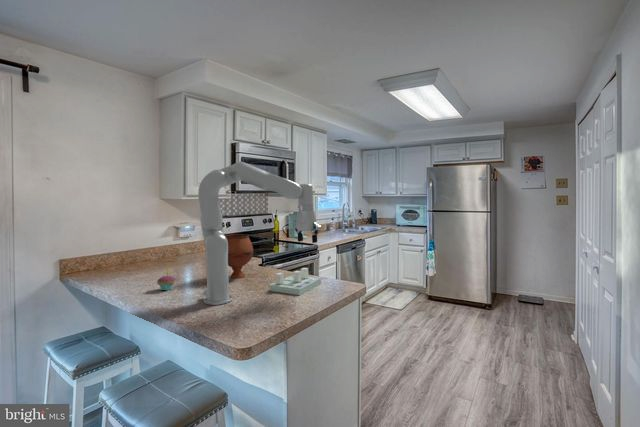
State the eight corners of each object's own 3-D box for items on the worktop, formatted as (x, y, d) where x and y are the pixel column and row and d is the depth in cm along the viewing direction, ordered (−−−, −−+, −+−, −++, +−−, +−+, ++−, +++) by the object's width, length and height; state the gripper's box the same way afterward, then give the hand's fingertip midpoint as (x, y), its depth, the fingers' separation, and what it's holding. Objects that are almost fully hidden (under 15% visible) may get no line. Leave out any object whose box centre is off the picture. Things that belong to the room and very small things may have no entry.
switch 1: (275, 283, 167) (275, 273, 166) (279, 282, 169) (278, 272, 169) (280, 284, 165) (280, 274, 165) (283, 282, 168) (283, 273, 168)
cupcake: (165, 287, 176) (164, 264, 175) (179, 287, 174) (178, 265, 173) (153, 291, 167) (152, 268, 166) (168, 292, 165) (167, 269, 165)
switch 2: (293, 281, 170) (293, 271, 170) (296, 280, 173) (296, 270, 173) (298, 282, 169) (298, 272, 169) (301, 280, 172) (301, 271, 171)
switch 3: (300, 278, 177) (300, 268, 177) (303, 276, 180) (303, 267, 180) (305, 278, 176) (305, 269, 175) (308, 277, 178) (308, 268, 178)
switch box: (269, 290, 166) (269, 284, 166) (292, 280, 186) (292, 274, 185) (299, 295, 158) (299, 288, 158) (320, 283, 177) (320, 278, 177)
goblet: (235, 283, 182) (233, 238, 180) (214, 278, 193) (212, 236, 192) (260, 275, 197) (259, 234, 195) (240, 271, 208) (239, 232, 207)
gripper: (288, 208, 168) (290, 241, 169) (314, 208, 157) (315, 244, 159) (298, 207, 174) (300, 239, 175) (324, 207, 163) (325, 242, 164)
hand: (307, 241), depth 167 cm, fingers open, 9 cm apart
